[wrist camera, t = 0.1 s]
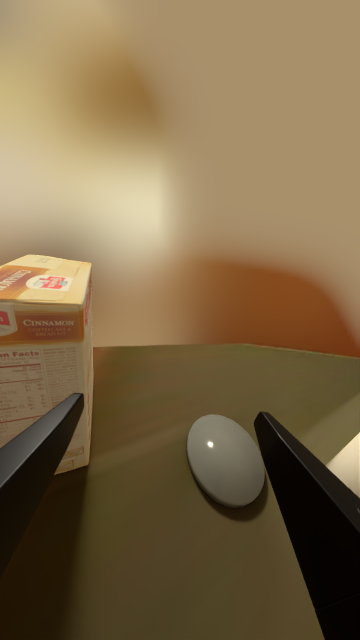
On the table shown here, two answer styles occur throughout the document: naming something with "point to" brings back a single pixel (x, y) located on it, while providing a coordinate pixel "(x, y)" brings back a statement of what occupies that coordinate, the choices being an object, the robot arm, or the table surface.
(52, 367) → the coffeecake box
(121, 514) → the table surface
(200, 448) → the coaster
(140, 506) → the table surface
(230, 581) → the table surface
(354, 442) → the salt mill
